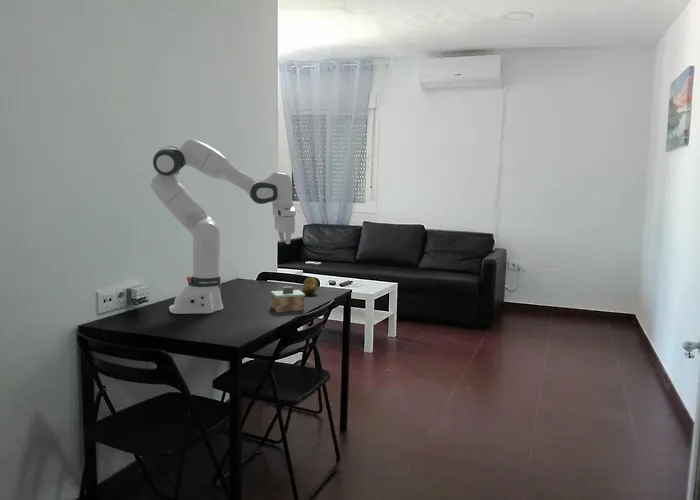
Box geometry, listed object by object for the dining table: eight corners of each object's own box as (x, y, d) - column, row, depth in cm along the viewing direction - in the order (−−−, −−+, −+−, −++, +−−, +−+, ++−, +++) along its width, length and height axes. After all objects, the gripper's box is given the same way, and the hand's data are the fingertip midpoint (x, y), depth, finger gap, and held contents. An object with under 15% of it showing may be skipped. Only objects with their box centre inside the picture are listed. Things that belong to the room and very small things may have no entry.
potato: (296, 296, 283) (297, 279, 282) (306, 291, 295) (306, 275, 294) (313, 297, 281) (313, 281, 280) (321, 292, 293) (322, 276, 292)
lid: (276, 300, 246) (276, 289, 245) (271, 295, 255) (271, 285, 254) (305, 298, 250) (305, 288, 250) (298, 294, 259) (299, 284, 259)
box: (276, 313, 247) (276, 297, 246) (271, 308, 255) (271, 293, 254) (303, 311, 251) (304, 295, 250) (298, 307, 260) (298, 291, 259)
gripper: (270, 209, 259) (272, 240, 261) (282, 212, 240) (284, 246, 242) (283, 208, 261) (285, 238, 263) (296, 211, 242) (298, 244, 245)
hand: (285, 242), depth 253 cm, fingers open, 8 cm apart
